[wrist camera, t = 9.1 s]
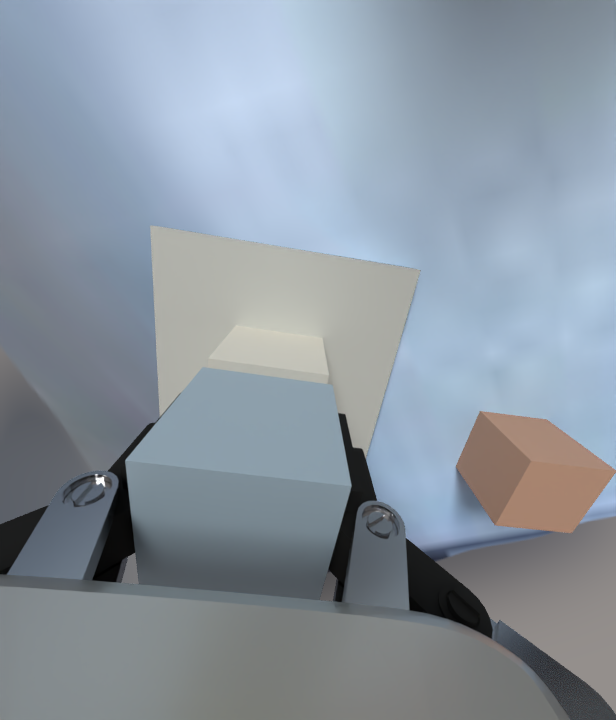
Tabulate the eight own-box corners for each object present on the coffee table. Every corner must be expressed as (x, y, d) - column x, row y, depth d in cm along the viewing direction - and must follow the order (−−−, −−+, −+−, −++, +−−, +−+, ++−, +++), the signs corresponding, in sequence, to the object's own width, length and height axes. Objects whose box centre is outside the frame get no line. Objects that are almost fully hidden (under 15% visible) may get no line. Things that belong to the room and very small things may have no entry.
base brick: (322, 338, 17) (329, 375, 12) (309, 411, 18) (310, 467, 14) (235, 325, 16) (208, 358, 12) (231, 401, 18) (205, 455, 13)
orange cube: (546, 419, 20) (616, 470, 16) (516, 472, 22) (571, 533, 18) (479, 410, 20) (531, 460, 15) (455, 465, 22) (495, 525, 17)
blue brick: (332, 384, 11) (351, 486, 6) (312, 481, 13) (315, 614, 8) (202, 367, 11) (125, 460, 6) (201, 469, 13) (140, 599, 8)
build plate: (412, 268, 16) (420, 270, 15) (358, 460, 22) (361, 472, 20) (161, 226, 15) (150, 225, 14) (169, 438, 21) (161, 449, 19)
